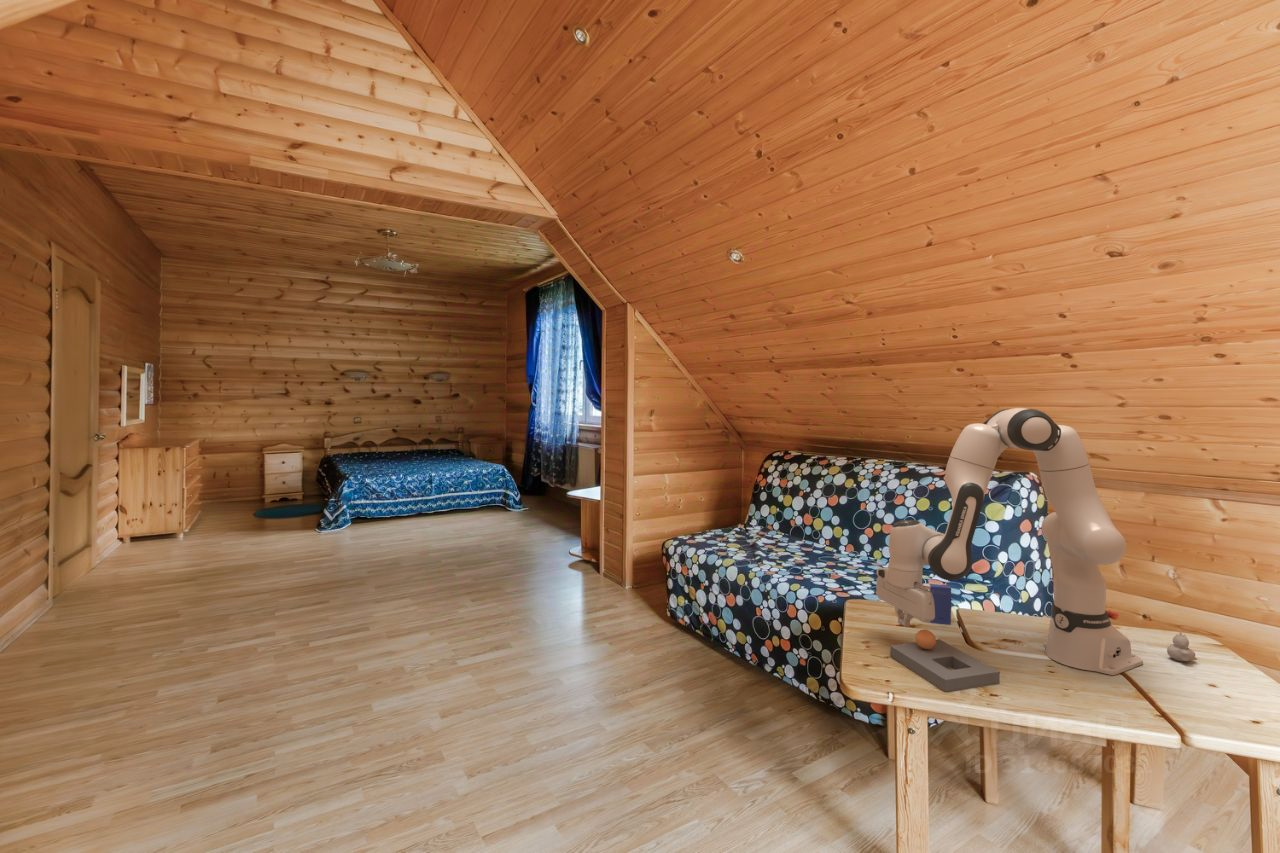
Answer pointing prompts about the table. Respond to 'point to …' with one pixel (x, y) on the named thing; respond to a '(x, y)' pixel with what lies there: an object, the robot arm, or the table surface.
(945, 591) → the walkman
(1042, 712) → the table surface
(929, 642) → the ball
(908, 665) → the pocket board
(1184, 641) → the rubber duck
